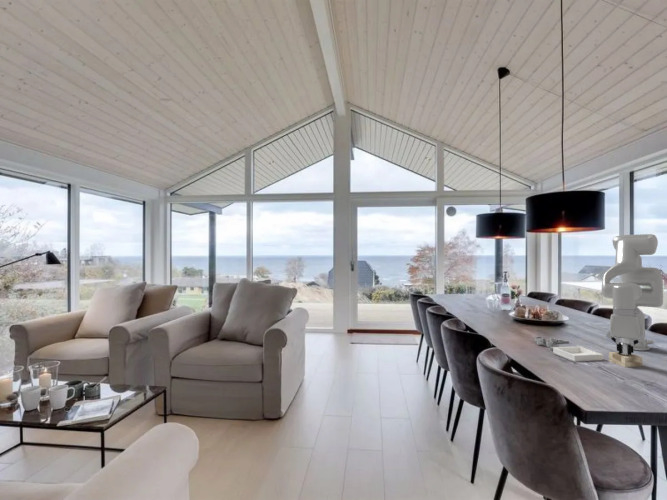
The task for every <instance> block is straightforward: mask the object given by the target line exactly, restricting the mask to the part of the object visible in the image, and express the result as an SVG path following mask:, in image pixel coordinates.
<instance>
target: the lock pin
mask: <svg viewBox="0 0 667 500" xmlns="http://www.w3.org/2000/svg"><path fill="white" fill-rule="evenodd" d="M620 344H621V355H623V356H630V354H629V343H621V342H620Z"/></svg>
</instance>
